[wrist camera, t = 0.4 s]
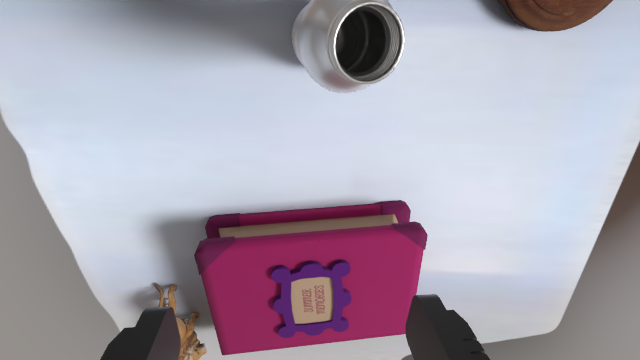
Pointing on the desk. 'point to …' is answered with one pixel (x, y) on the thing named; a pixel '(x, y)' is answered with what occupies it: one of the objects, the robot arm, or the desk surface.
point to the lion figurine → (184, 329)
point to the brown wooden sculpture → (553, 12)
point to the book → (310, 275)
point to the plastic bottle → (348, 42)
